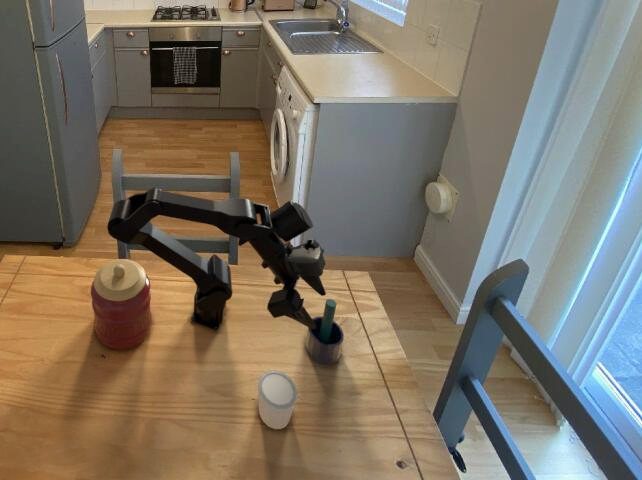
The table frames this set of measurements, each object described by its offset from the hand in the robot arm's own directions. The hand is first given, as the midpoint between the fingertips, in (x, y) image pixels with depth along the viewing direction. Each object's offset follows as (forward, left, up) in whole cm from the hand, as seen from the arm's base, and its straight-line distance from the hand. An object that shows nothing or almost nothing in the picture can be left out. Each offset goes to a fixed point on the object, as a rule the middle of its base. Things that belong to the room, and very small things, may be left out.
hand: (319, 310), depth 87 cm
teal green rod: (+2, 0, -10) cm, 10 cm away
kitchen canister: (-40, -13, -10) cm, 43 cm away
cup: (+2, 0, -10) cm, 11 cm away
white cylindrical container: (-5, -17, -10) cm, 21 cm away
